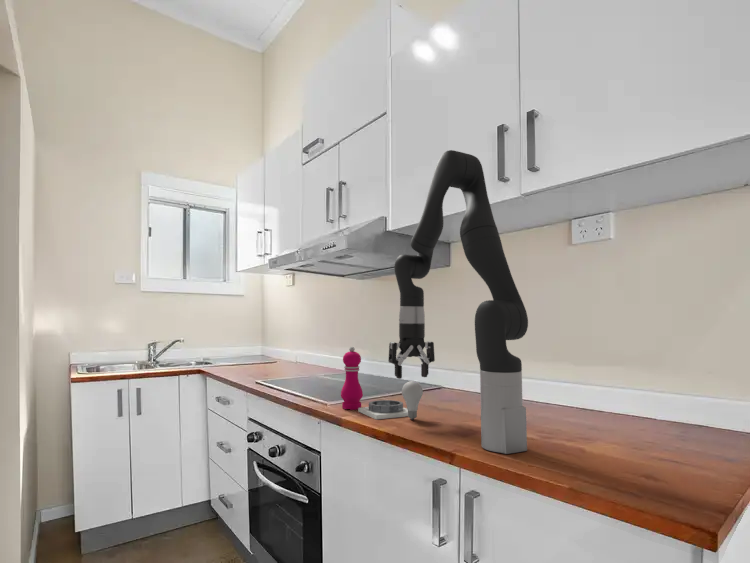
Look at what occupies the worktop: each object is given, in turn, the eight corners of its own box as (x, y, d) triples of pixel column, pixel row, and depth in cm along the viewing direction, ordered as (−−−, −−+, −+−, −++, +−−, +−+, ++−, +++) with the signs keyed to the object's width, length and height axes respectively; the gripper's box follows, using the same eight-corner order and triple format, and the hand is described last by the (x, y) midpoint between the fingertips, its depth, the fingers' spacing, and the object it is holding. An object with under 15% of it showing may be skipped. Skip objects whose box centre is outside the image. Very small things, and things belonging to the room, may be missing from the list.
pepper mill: (359, 405, 157) (359, 345, 159) (365, 409, 150) (365, 347, 152) (338, 406, 155) (338, 346, 156) (343, 410, 148) (344, 347, 149)
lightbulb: (421, 422, 131) (421, 382, 132) (400, 421, 132) (400, 382, 133) (423, 417, 137) (423, 380, 138) (403, 416, 138) (403, 379, 139)
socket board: (414, 415, 140) (414, 411, 140) (376, 419, 135) (376, 415, 135) (394, 408, 152) (394, 404, 152) (358, 411, 146) (358, 407, 146)
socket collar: (409, 411, 141) (409, 404, 141) (378, 414, 136) (378, 407, 137) (393, 405, 150) (393, 399, 151) (363, 408, 146) (363, 401, 146)
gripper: (396, 322, 131) (396, 380, 129) (439, 322, 137) (439, 378, 136) (384, 321, 137) (384, 377, 136) (425, 321, 143) (425, 374, 142)
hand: (411, 377), depth 136 cm, fingers open, 8 cm apart
